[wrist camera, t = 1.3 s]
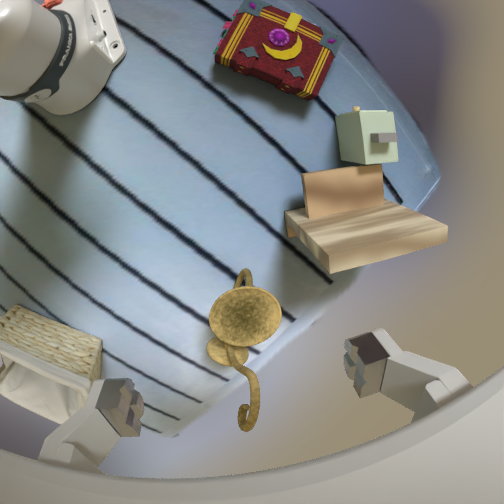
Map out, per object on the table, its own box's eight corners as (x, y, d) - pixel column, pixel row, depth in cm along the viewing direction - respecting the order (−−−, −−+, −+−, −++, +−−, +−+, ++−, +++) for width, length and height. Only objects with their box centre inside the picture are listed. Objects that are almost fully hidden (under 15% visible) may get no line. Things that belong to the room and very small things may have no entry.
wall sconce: (250, 330, 50) (278, 450, 27) (198, 321, 48) (196, 446, 25) (274, 261, 46) (330, 372, 23) (216, 248, 44) (224, 362, 21)
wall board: (278, 172, 41) (323, 193, 24) (372, 159, 42) (449, 175, 25) (287, 235, 45) (330, 291, 28) (376, 217, 46) (445, 257, 29)
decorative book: (306, 103, 38) (318, 98, 33) (205, 61, 34) (204, 51, 29) (332, 46, 34) (345, 37, 30) (236, 5, 30) (239, -10, 26)
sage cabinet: (333, 110, 38) (365, 103, 29) (364, 108, 39) (400, 103, 29) (340, 160, 41) (373, 166, 32) (370, 156, 42) (406, 162, 32)
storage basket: (110, 336, 47) (88, 392, 34) (106, 387, 52) (91, 438, 39) (12, 295, 42) (-25, 335, 28) (19, 350, 46) (-7, 392, 33)
